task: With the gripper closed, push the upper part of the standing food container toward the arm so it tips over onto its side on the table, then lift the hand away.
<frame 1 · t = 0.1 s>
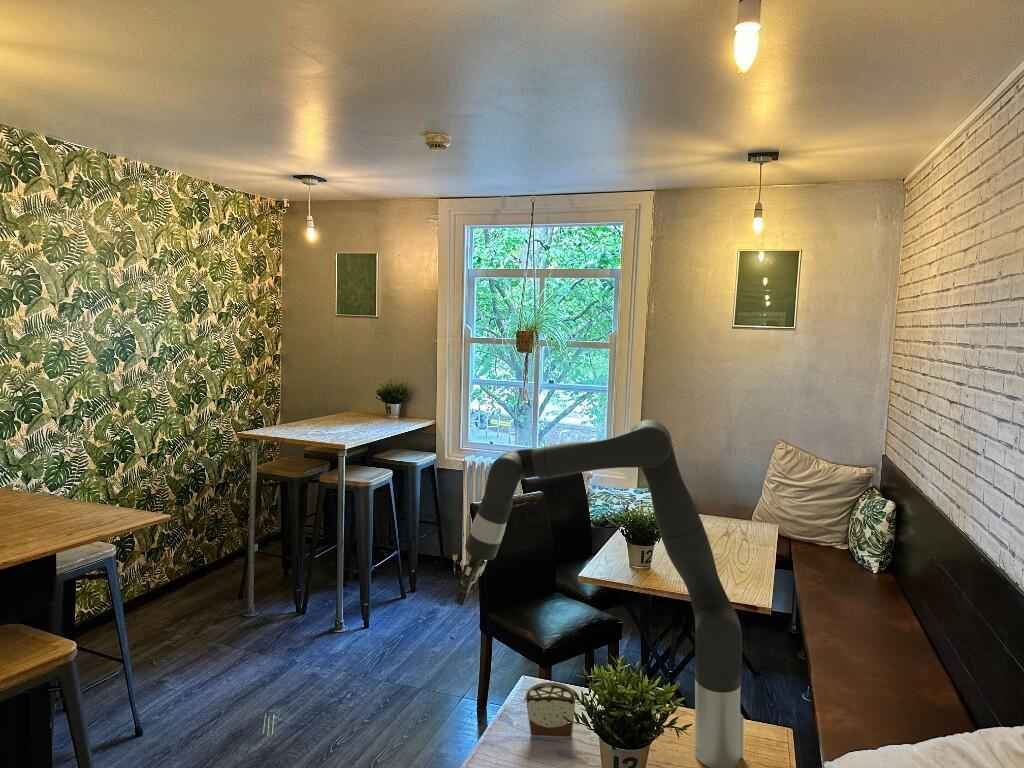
hand: (464, 595, 153), 31 cm above the table, tool tilted 20°, fingers open, 8 cm apart
food container: (551, 729, 153), on the table
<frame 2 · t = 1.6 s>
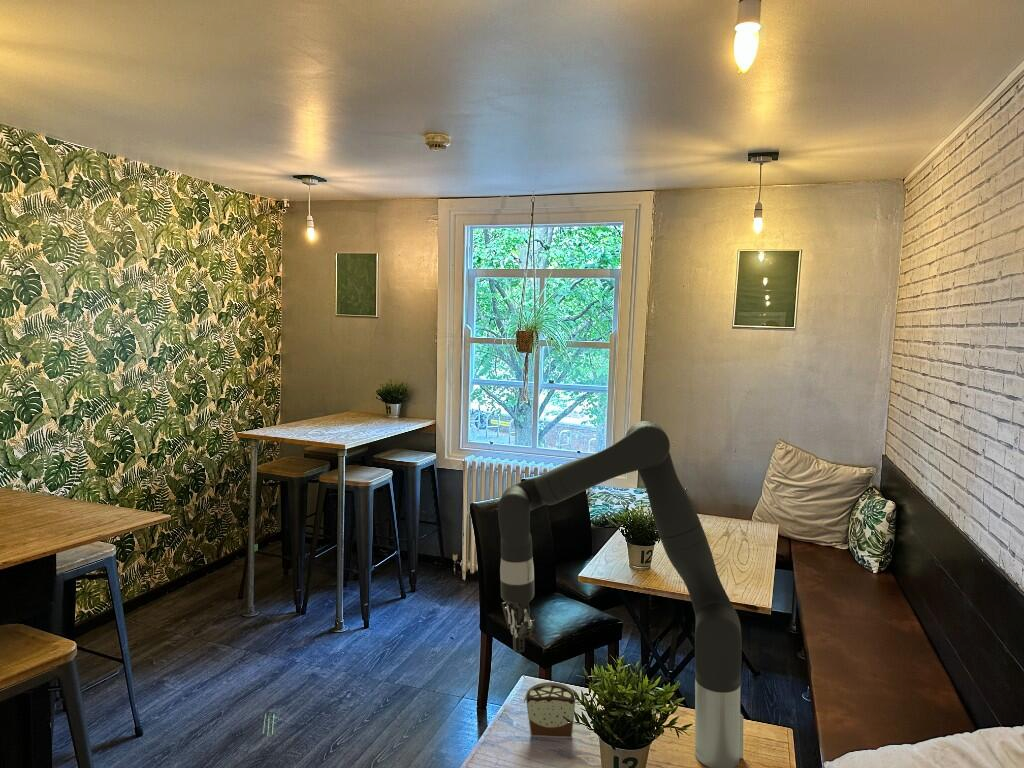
hand: (518, 650, 147), 21 cm above the table, tool pointing down, fingers closed
nothing on the table moved.
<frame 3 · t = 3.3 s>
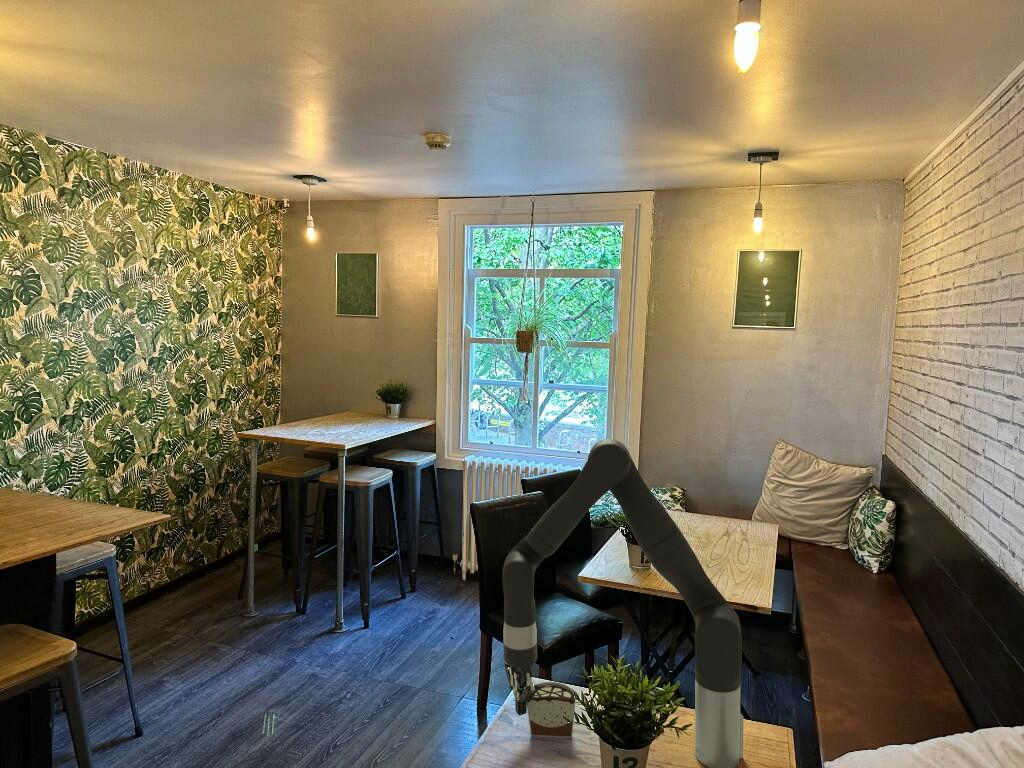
hand: (521, 712, 149), 6 cm above the table, tool pointing down, fingers closed
food container: (552, 729, 153), on the table, touching gripper
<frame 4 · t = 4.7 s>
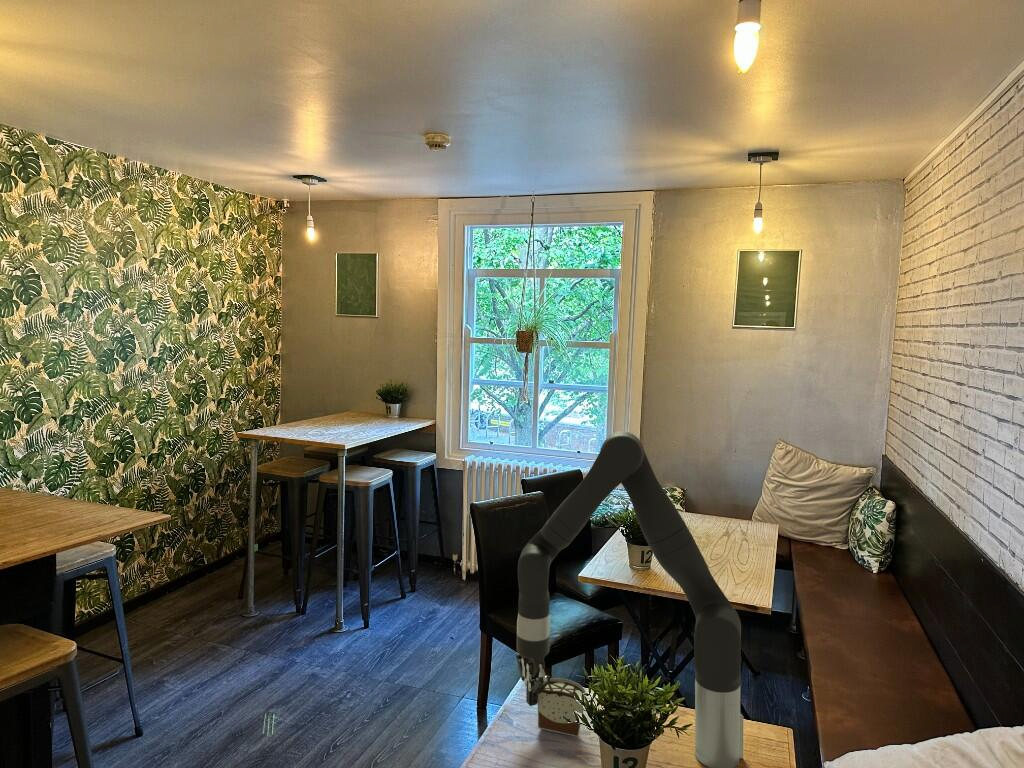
hand: (531, 703, 150), 7 cm above the table, tool pointing down, fingers closed
food container: (560, 726, 153), on the table, touching gripper
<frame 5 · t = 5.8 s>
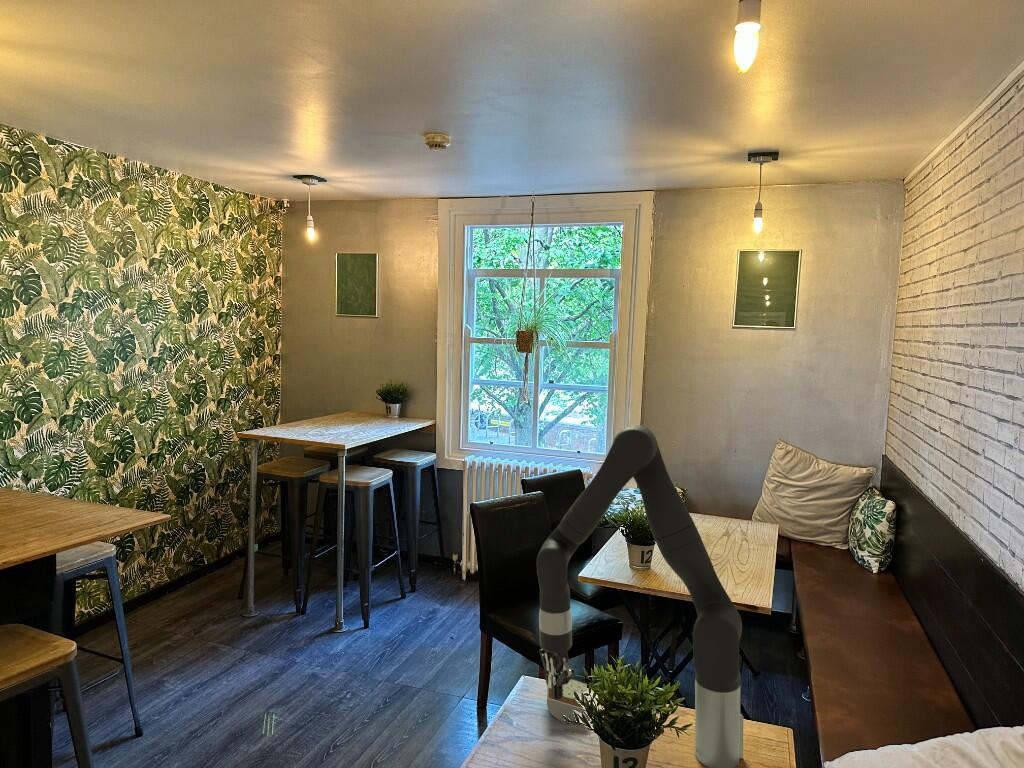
hand: (557, 697, 152), 7 cm above the table, tool pointing down, fingers closed
food container: (563, 715, 154), point 2 cm above the table
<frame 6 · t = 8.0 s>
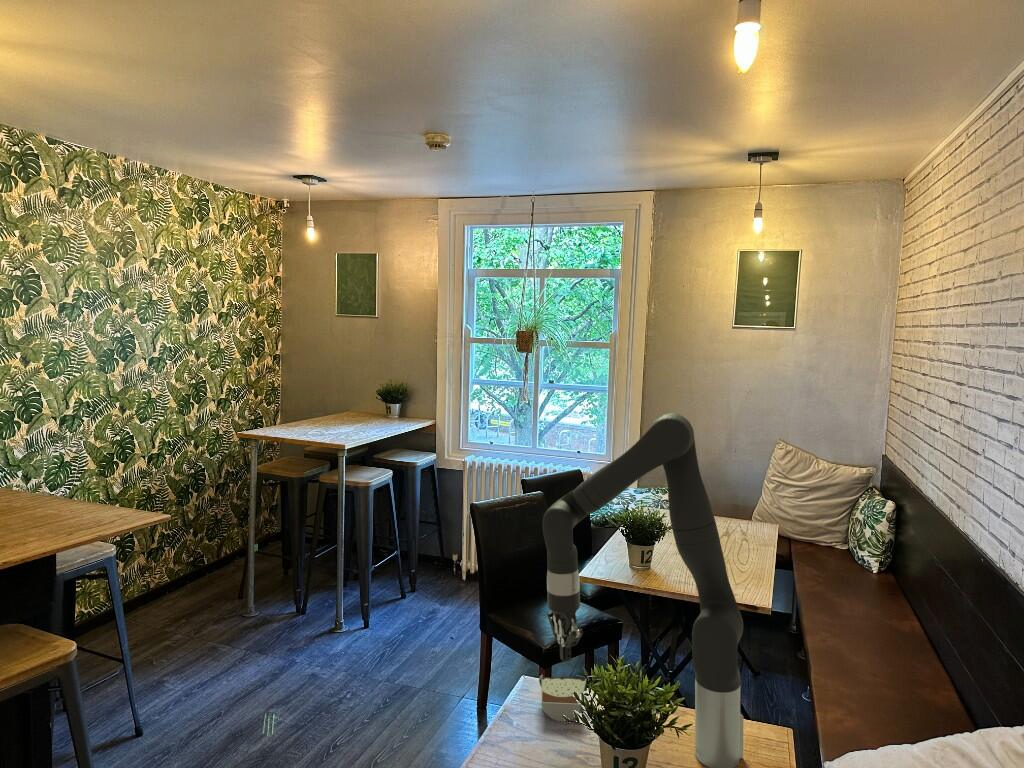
hand: (565, 659, 153), 16 cm above the table, tool pointing down, fingers closed
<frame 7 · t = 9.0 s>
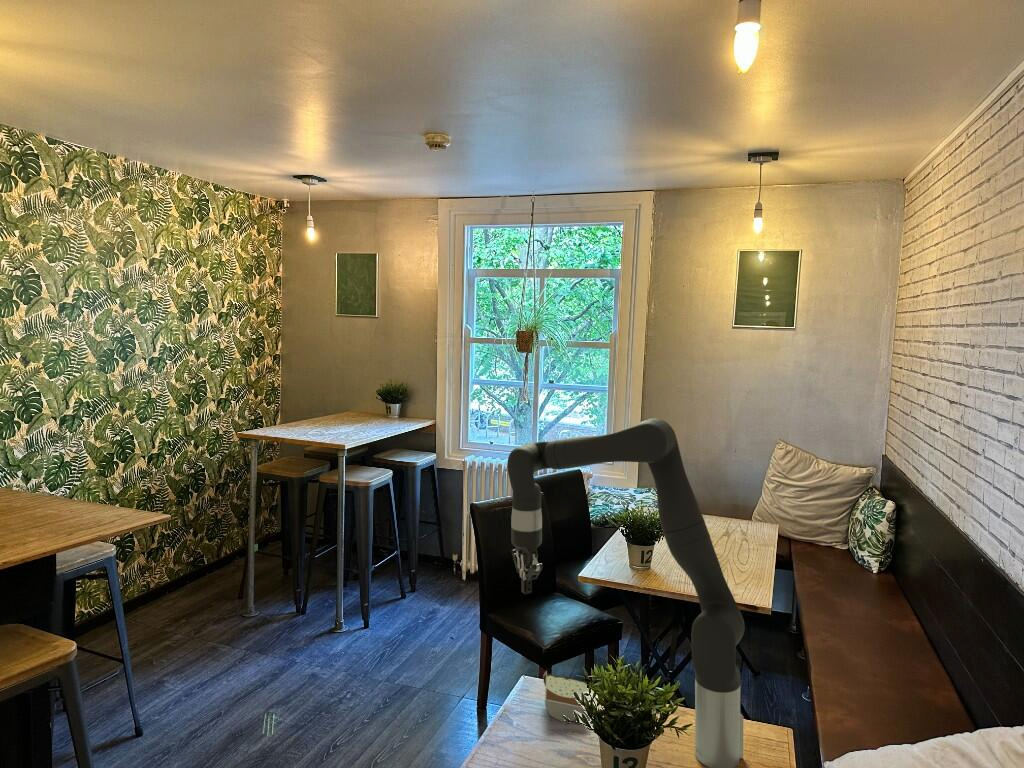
hand: (526, 592, 163), 28 cm above the table, tool pointing down, fingers closed
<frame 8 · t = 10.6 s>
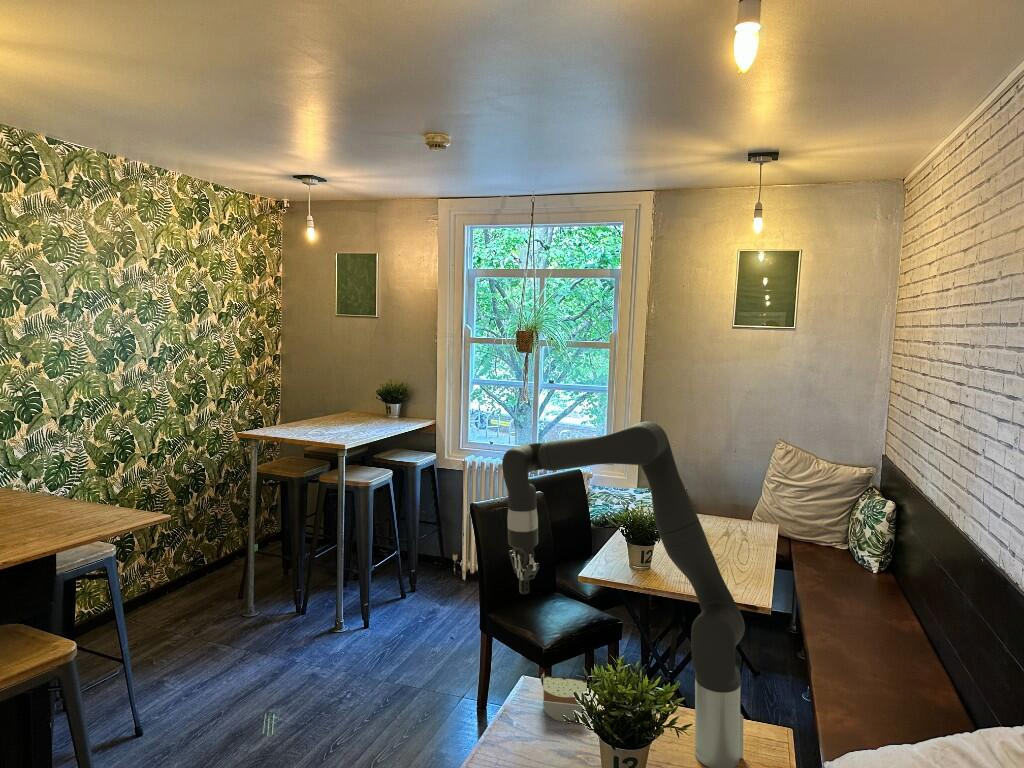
hand: (524, 592, 164), 27 cm above the table, tool pointing down, fingers closed
nothing on the table moved.
at the end: food container tilted 81°; food container inside the target area (1.9 cm from its centre), point 1.8 cm above the table; the gripper is holding nothing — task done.
